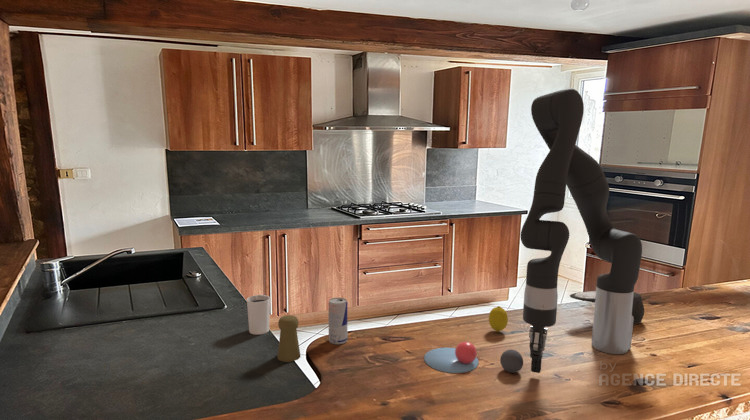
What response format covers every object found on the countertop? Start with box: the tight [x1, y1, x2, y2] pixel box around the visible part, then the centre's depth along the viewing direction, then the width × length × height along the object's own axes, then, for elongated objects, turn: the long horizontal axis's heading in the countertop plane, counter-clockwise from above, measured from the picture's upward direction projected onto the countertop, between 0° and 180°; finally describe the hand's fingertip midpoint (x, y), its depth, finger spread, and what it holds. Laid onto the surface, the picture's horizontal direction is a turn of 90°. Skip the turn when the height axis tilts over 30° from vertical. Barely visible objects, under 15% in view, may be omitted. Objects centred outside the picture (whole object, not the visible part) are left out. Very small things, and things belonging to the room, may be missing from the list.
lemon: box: [488, 305, 509, 333], centre depth 143 cm, size 6×6×8 cm
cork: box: [276, 314, 301, 363], centre depth 125 cm, size 6×6×11 cm
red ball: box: [455, 341, 478, 364], centre depth 123 cm, size 6×6×6 cm
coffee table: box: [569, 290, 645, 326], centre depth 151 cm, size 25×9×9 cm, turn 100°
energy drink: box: [327, 297, 348, 346], centre depth 135 cm, size 5×5×12 cm
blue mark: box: [423, 347, 479, 374], centre depth 125 cm, size 14×14×1 cm
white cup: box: [246, 294, 271, 336], centre depth 142 cm, size 7×7×10 cm
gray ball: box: [499, 349, 524, 374], centre depth 118 cm, size 6×6×6 cm
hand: (535, 371), depth 116 cm, fingers closed
